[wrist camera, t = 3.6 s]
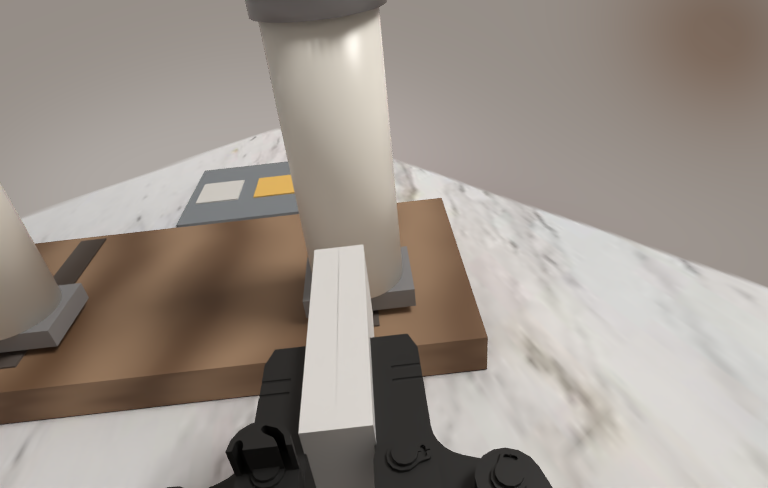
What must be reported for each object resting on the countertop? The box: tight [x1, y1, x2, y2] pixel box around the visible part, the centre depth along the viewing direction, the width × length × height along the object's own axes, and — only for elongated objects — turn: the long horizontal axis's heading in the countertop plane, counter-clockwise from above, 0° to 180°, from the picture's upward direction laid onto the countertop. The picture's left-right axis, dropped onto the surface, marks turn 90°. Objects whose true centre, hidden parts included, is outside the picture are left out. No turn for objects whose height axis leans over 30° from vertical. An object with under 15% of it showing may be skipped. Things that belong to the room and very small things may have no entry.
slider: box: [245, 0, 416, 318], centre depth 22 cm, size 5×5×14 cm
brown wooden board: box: [0, 198, 488, 424], centre depth 29 cm, size 28×13×2 cm, turn 94°
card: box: [177, 162, 299, 228], centre depth 41 cm, size 9×9×1 cm
